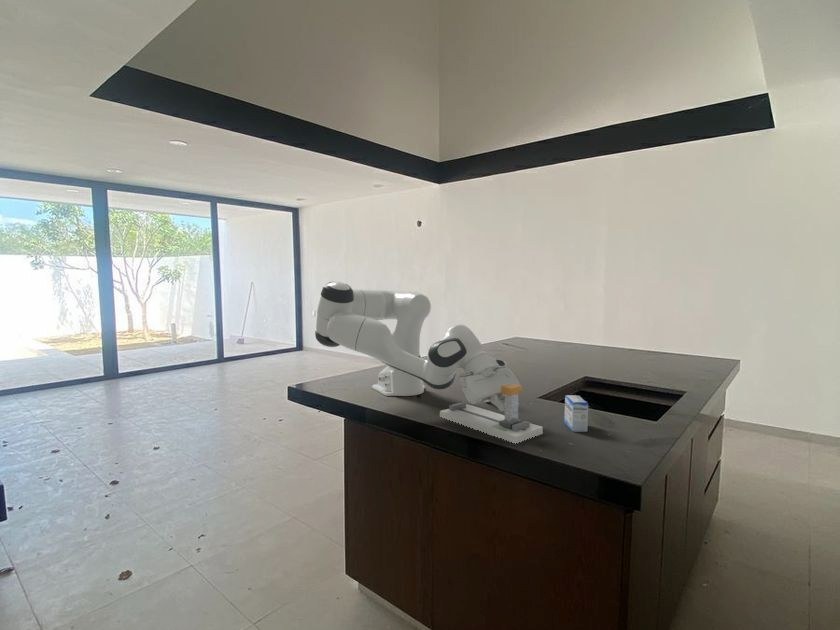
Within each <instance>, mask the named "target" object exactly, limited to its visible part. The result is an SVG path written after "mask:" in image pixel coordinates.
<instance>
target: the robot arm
mask: <svg viewBox="0 0 840 630" xmlns="http://www.w3.org/2000/svg"><path fill="white" fill-rule="evenodd" d="M431 309H432V304H431V301H430V300H429V297H427V296H426V295H424V294H422V293H420V292H417V291H399V290H376V289H371V290H370V289H352V286H351V285H348V284H347V283H344V282H341V281H330V282H327V283H326V284H324V285H323V287H322V289H321V292H320V299H319V302H318V305H317V310H316V322H315V323H316V325H315V329H314V332H315V333H314V335H315V339H316V340H317V342H318V343H319V344H321V345H322V346H323V347H328V348H329V347H330V348H336V347H339V346H342V347H345V348H347V349H349V350H350V351H351V350H352V351H355V352H357V353H361V354H363V355H366V356H369V357H371V358H373V359H375V360H377V361H379V362H381V363H383V364H385V365H386V367H384V368H383V369H382V370H381V371H380V372H378V376H377V382H376V383H374V384H372V385H371V388H372V389H374V391H377V392H379V393H380V394H382V395H384V396H386V397H390V396H391V397H392V396H393V397H410V396H417V395H420V394H423V393H424V392H425V389H426V385H427V386H429V387H430V388H431V389H435V390H445V389H447V388H449V387H451V386H452V384H453V383H454V382H455V379H456V374H457V372H456V371H457V369H460V368H461V369H462V370H463V371H464V373H461V374H459V377H458V382H459V384H460V386H461V389H462V391H463V394H464V396H465V398H466V400H467V402H468V403H469V404H470V405H475V404H479V403H484V402H485V401H488V400H490V401H491V402H490V403H491V404H493V406H495V407H497V409H498V410H499V412H505V394H502V393H501V386H504V385H508V384H516V385H521V384H520V381H519V380H518V379H517V376H516V375H515V374H514V373H513V371H512V370H511V369H510V368H509V367H507V366H508V364H507V362H506V360H503V359H499V358H494V357H491V356H490V355H489V354H488V352H486V351H485V349H483V346H482V344H481V342H480V340H479V339H478V337H477V336H476V334H475V333H474V332H473V331H472V330H471V329H470V328H469V327H468V326H466V325H464V324H456V325H453V326H451V327H450V328H448V329H447V330H446V331H445V334H444V335H443V336H442V337H441V339H440V340H438V341H436V342H434V343H432V344H431V346H430V347H429V349H428V352H427V357H426V359H424V358H422V357H421V354H420V343H421V342H420V338H421V332H422V328H423V324H424V321H425V320H426V318H427V317H428V316H429V314H430V313H431ZM382 320H396V325H395V329H394V331H393V332H391V330H390V329H389V327H388V326H387V325H386V324H384V323H383V322H381V321H382ZM424 383H425V384H426V385H424Z"/></svg>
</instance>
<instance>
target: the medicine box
mask: <svg viewBox="0 0 840 630" xmlns="http://www.w3.org/2000/svg"><path fill="white" fill-rule="evenodd" d="M563 419H564V422H563V423H564V424H565V425H566V426H567V427H568V428H569V429H570V431H572V432H574V433H575V432H576V433H581V432H583V433H584V432H585V433H586V432H588V425H589V423H588V421H589V403H588V401H586V400H585V399H584V398H582V397H581V395H576V394H574V395H572V394H571V395H569V394H568V395H565V397H564V418H563Z"/></svg>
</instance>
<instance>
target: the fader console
mask: <svg viewBox="0 0 840 630" xmlns="http://www.w3.org/2000/svg"><path fill="white" fill-rule="evenodd" d="M448 407H449V408H447V409H442V410H439V418H441V417H442V418H441V419H444V418H445V419H444V420H446V419H447V421H449V420H450V422H452V421H453V423H455V422H456V423H455V424H458V423H459V424H458V425H461V424H462V425H461V426H463V425H464V426H463V427H466V426H467V428H469V427H470V429H472V428H473V429H472V430H475V431H477V430H479V431H478V432H480V431H481V432H480V433H483V432H484V433H483V434H486V433H487V434H486V435H489V436H492V437H494V436H495V438H497V437H498V438H497V439H500V438H502V439H501V440H503V439H504V440H503V441H506V440H507V441H506V442H508V441H509V443H511V442H512V443H511V444H514V443H515V444H514V445H517V444H520V443H523V442H525V441H527V439H528V440H530V439H532V437H533V438H536V437H537V436H540V435H543V434H544V432H543V430H544V427H543V425H542V426H541V425H537V424H535V423H531V422H530V421H528V420H523V422H520V423H517V424H514V425H512V428H511V429H510V428H507V427H504V426H501V425H499V421H501V420H504V419H505V414H502V413H498V412H495V411H492V410H488V409H484V408H481V407H478V406H474V405H473V404H467V402H464V401H462V402H458V403H454V404H450V405H449V406H448ZM535 436H536V437H535ZM529 438H530V439H529ZM524 440H525V441H524ZM522 441H523V442H522ZM519 442H520V443H519ZM516 443H517V444H516Z"/></svg>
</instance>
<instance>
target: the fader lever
mask: <svg viewBox="0 0 840 630" xmlns="http://www.w3.org/2000/svg"><path fill="white" fill-rule="evenodd" d="M501 393H502V394H505V411H504V415H505V419H504V420H501V421H499V425H501V426H504V427H507V428H510V429H511V428H512V425H514V424H517V423H520V422H523V421H524V420H523V419H520V418H519V394H522V393H523V385H521V384H520V385H516V384H508V385H504V386H501Z"/></svg>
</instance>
